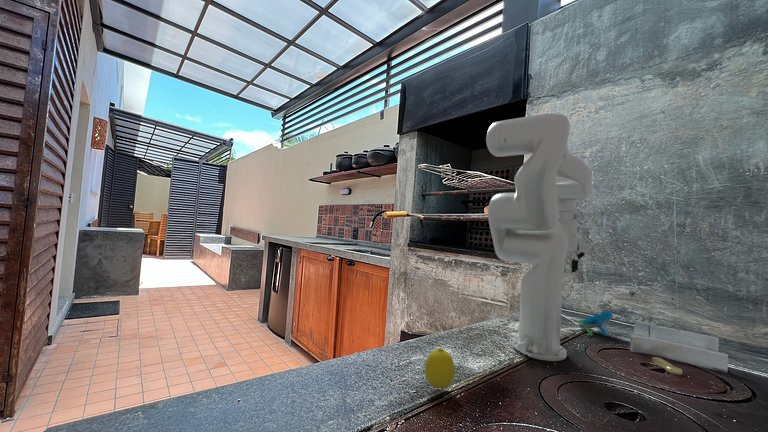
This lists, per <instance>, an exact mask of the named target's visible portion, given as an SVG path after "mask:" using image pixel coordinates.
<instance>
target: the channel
mask: <svg viewBox="0 0 768 432" xmlns="http://www.w3.org/2000/svg"><path fill="white" fill-rule="evenodd" d="M633 327H634V329H633V333H634V334H630V340H629V341H630V342H629V351H631V352H632V353H638V354H639V353H640V354H647V355H653V356H656V357H659V358H665V359H668V360H672V361H677V362H681V363H686V364H689V365H692V366H697V367H700V368H705V369H708V370H712V371H717V372H721V373H725V374H729V373H728V372H729V371H728V370H729V354H727V353H722V352H719V351H720V349H719V347H720V346H719V345H720V339H719V337H716V336H712V335H711V336H710V335H707V334H702V333H698V332H697V333H696V332H690V331H688V330H687V331H685V330H680V329H675V328H670V327H668V326H667V327H666V326H660V325H657V324H652V323H648V322H644V321H641V320H637V319H636V320H634V326H633Z"/></svg>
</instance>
